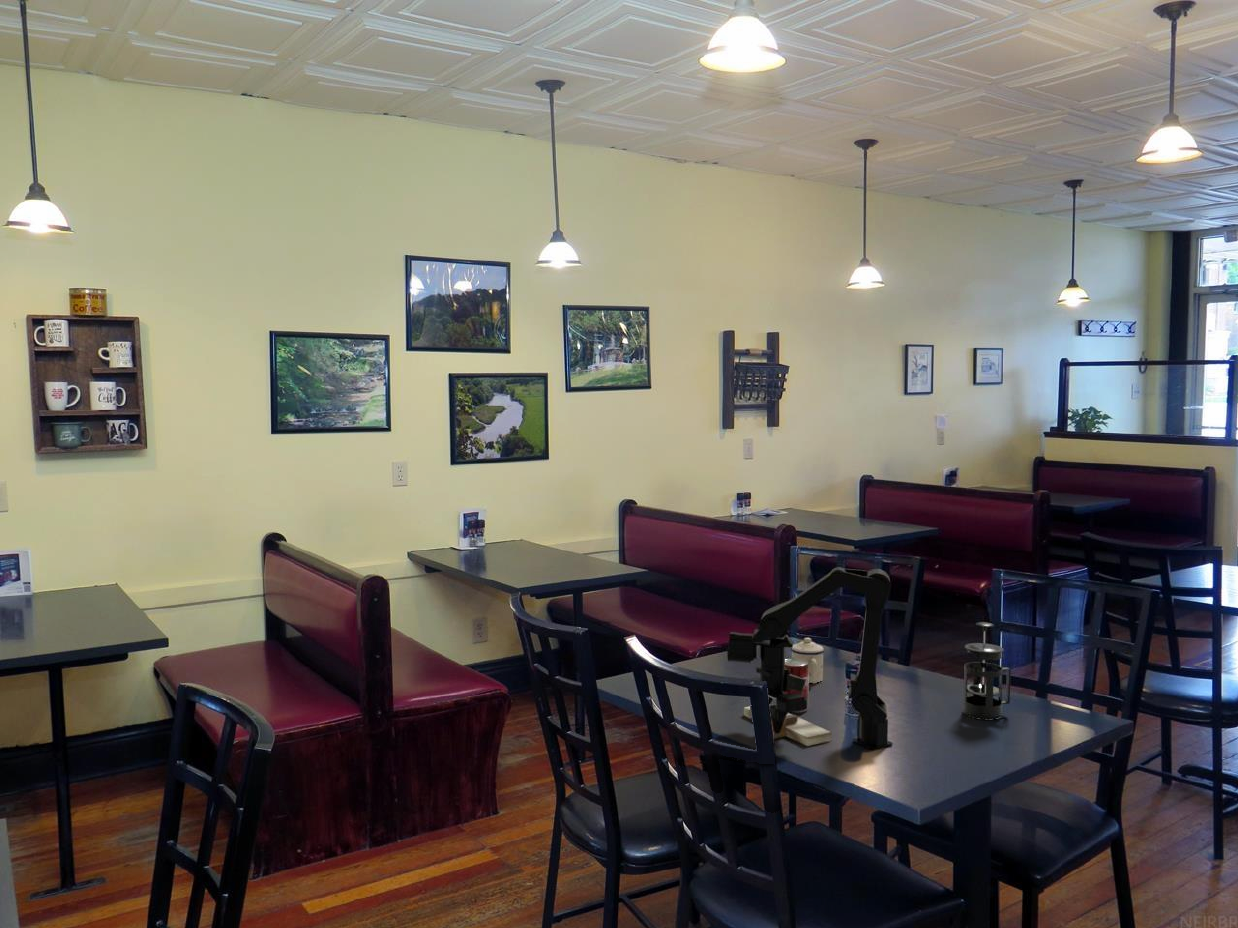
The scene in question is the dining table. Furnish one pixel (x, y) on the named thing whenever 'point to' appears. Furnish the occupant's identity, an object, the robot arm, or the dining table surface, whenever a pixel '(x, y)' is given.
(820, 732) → the maple board
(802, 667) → the soda can
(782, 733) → the marking gauge
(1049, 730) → the dining table surface
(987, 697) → the french press
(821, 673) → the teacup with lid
